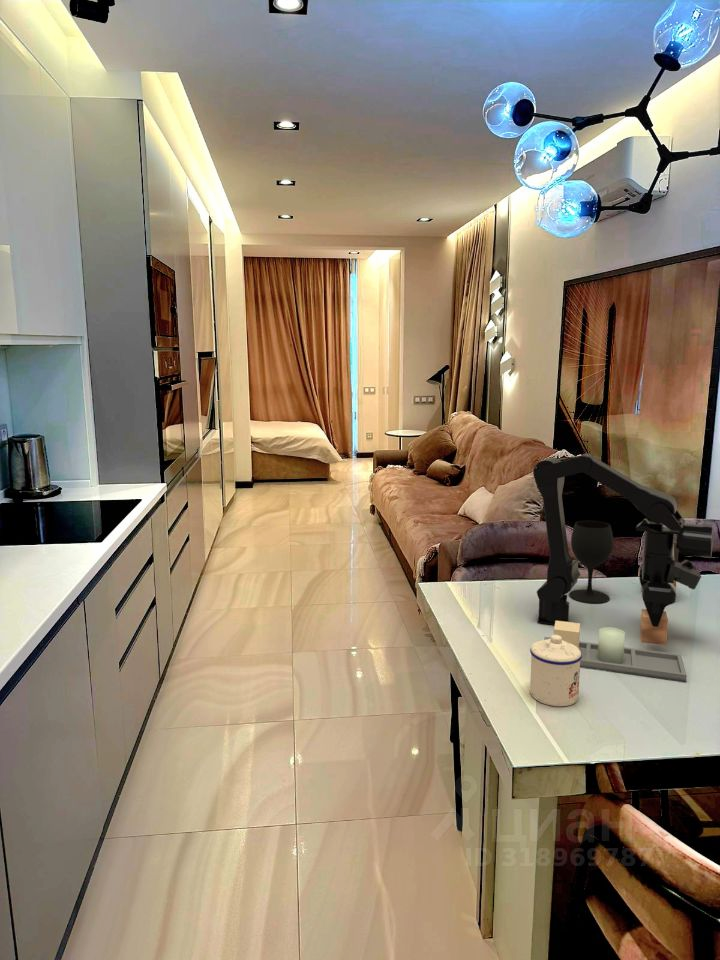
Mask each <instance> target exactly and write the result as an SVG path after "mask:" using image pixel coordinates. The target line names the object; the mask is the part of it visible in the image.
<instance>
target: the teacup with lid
mask: <svg viewBox="0 0 720 960" xmlns="http://www.w3.org/2000/svg"><path fill="white" fill-rule="evenodd" d="M550 638H551V639H547V640H544V639H542V640H537V641H535V642H534V643H532V644H531V646H530V649H529V652H530V655H531V657H530V682H529V683H530V685H529V691H530V695H531V696H532V697H533V698H534V699H535V700H537V701H538V702H539V703H542V704H545V705H547V706H552V707H566V706H572V705H574V704H575V703H576V702H577V701H579V694H580V693H579V692H580V671H581V669H580V668H581V667H580V660H581V658H582V654H581V652H580V650H579V649H578V648H577V647H576V646H575V645H573V644H571V643H568V642H565V641H563V640H562V637H561V636H559V635H554V634H552V635H550Z"/></svg>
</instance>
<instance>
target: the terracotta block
mask: <svg viewBox="0 0 720 960" xmlns="http://www.w3.org/2000/svg"><path fill="white" fill-rule="evenodd" d="M668 622H669V617H668V614H667V611H666V610H664V611H663V614H662V617H661V620H660V623H659V625H658V627H654V626H652V623H651V621H650V618H649V615H648V612H647V609H646V608H645V609H644V608H641V614H640V631H639V635H640V641H641V642H640V643H644V644H651V645H660V646H667V638H668V637H667V635H668V625H669V623H668Z"/></svg>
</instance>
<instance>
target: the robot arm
mask: <svg viewBox="0 0 720 960" xmlns="http://www.w3.org/2000/svg"><path fill="white" fill-rule="evenodd" d="M532 472H533V473H532V474H533V477H534V481H535V485H536V488H537V489H538V492H539V494H540V496H541V497H542V501H543V510H544V517H545V526H546V527H545V528H546V535H547V542H548V543H547V544H548V550H549V560H548V566H547V571H546V572H547V574H546V581H545V582H544V583H543V584H542V585H541V586H540V587H539V588H538V589H537V590H536V594H537V598H538V617H537V619H536V620H537V624H543V625H551V626H553V625H554V626H555V621H564V622H569V619H570V618H569V616H570V601H568V600H567V599H568V595H567V594H569V593H570V592H571V591H572V589H573V587H574V586H575V585H576V584H577V582H578V579H579V577H581V573H580V571H579V560H578V559H577V558H576V559H572V557H571V555H570V552H569V548H568V547H569V546H568V537H567V536H568V535H567V530H566V520H565V512H564V505H563V489H564V484H565V478H566V477H568V476H572V475H576V474H581V473H582V474H585V475H587V476H588V477H590V478H592V479H593V480H595V481H597V482H598V483H600V484H602V485H603V486H605V487H607V488H608V489H610V490H611V491H614V492H615V493H616V494H618V495H620V496H621V497H623V498H625V499H626V500H628V501H629V502H630V503H632V505H634V507H635V508H636V509H637V510H638V511H639V512H640V514H641V513H642V515H644V517H646V518H644V519H643V520H642V521H641V522H639V523H638V524H637V525H636V527H635V530H636V531H639V532H641V531H643V532H645V533H644V535H645V545H644V544H643V550H644V552H643V553H642V564H641V565H640V566H639V568H638V577H639V583H640V586H642V592H641V597H642V601H643V604H644V607H645V609H647V612H648V615H649V618H650V621H651V623H652V626H654V627H658V625H659V623H660V620H661V617H662V614H663V611H665V609H666V607H668V606H670V605H673V604H674V602H675V603H676V599H677V593H676V592H677V591H676V592H675V589H674V588H673V587H672V586H671V585H670V584H668V583H674V580H675V581H676V583H679V584H681V585H684V586H686V587H688V589H691V590H695V589H696V588H697V586H698V584H699V582H700V580H701V579H702V575H701V573H700V571H698V570H697V569H696V568H695V569H694V564H693V562H692V561H690V560H688V559H684V560H683V561H682V562H679V561H678V563H676V562H675V560H673V542H674V540H675V535H676V549H679V551H678V553H681V555H684V556H690V557H691V556H692V557H700V558H709V559H711V558H712V553H713V543H714V538H713V528H714V526H713V525H711V524H701V525H700V524H693V523H686V520H685V519H684V518H683V516H682V514H681V513H680V512H679V511H678V505H677V500H676V499H675V498H674V497H673V496H672V495H671V494H669V493H667V492H663V491H661V490H658V489H656V488H653V487H649V486H647V485H646V486H645V485H643V484H640V483H638V482H636V480H633V479H632V478H630V477H629V476H627V475H625V474H623V473H622V472H620V471H619V470H617V469H615V468H613V467H612V466H610V465H608V464H606V463H605V462H604V461H601V460H600V459H598V458H596V457H595V456H594V455H593V454H591V453H583V454H581V455H576V456H572V457H566V458H561V459H560V458H556V457H554V456H553V457H552V456H551V457H547V458H545V459H543V460H540V461H539V462H537V463H536V465H535V466H534V467H533V470H532ZM648 519H649V520H650V521H649V520H648ZM643 558H644V559H643Z"/></svg>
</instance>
